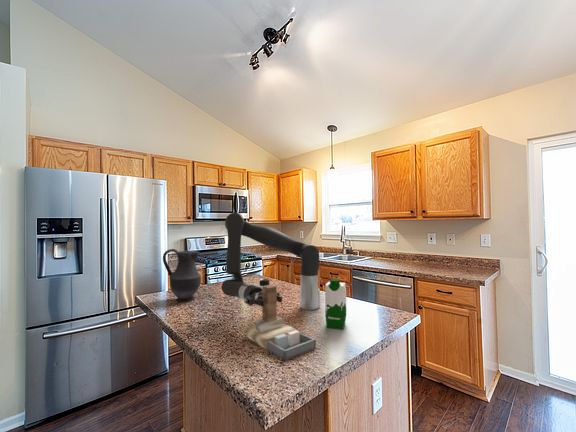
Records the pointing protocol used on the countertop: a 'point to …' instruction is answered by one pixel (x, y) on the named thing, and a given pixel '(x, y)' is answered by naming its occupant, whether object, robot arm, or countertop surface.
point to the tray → (292, 347)
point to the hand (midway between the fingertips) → (272, 301)
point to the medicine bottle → (263, 282)
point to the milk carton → (335, 304)
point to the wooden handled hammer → (269, 310)
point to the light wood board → (267, 334)
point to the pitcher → (184, 275)
